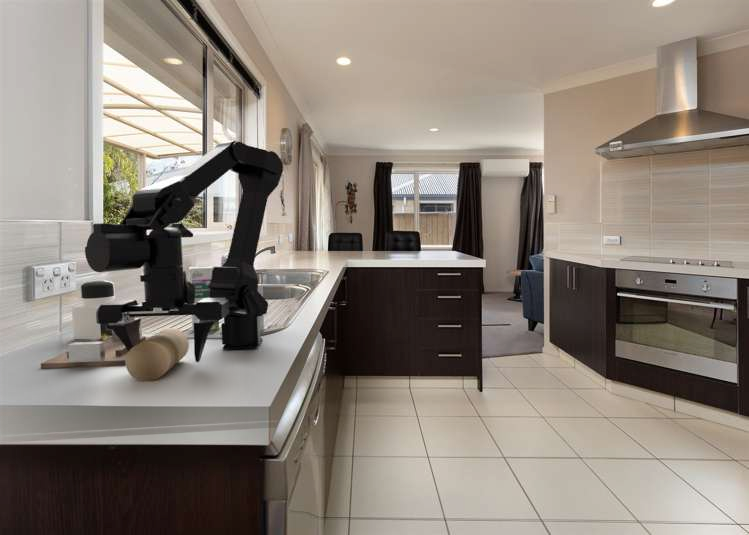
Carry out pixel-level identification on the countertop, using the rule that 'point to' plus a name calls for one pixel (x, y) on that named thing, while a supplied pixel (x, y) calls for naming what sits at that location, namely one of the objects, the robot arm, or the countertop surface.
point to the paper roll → (156, 354)
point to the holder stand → (92, 353)
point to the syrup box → (201, 287)
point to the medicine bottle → (92, 310)
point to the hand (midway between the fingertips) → (168, 362)
